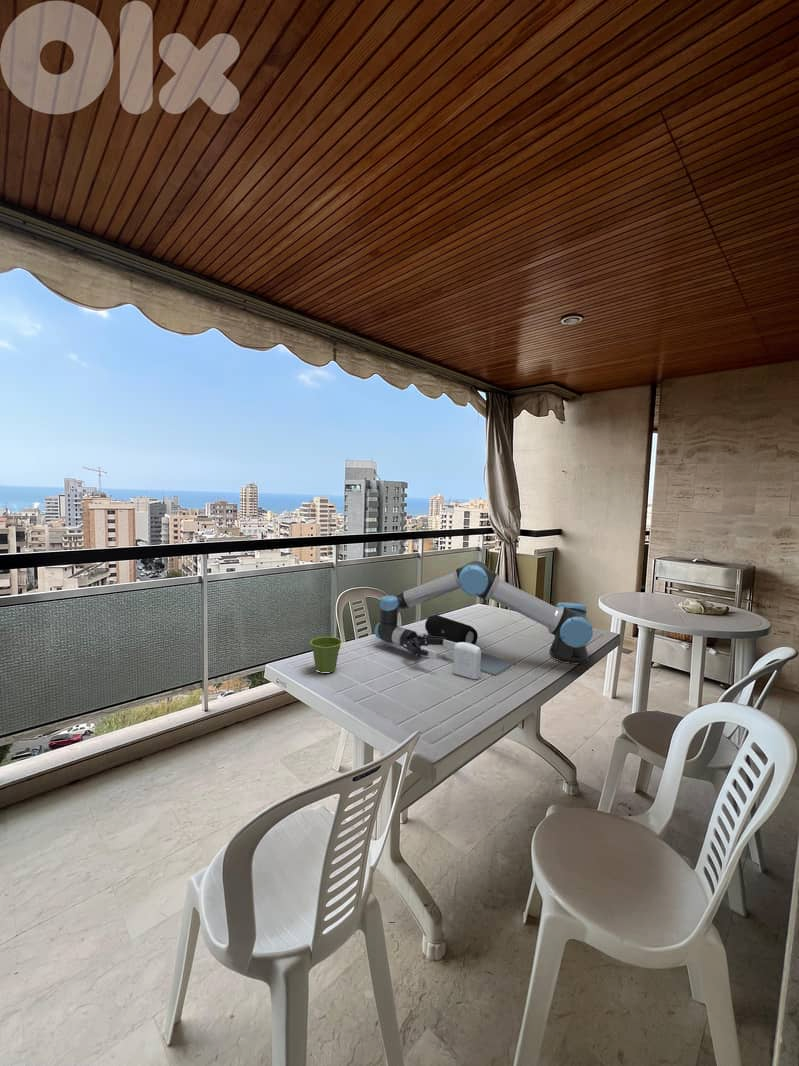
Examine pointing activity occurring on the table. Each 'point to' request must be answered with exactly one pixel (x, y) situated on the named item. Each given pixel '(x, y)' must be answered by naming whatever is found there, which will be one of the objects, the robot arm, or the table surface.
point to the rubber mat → (494, 664)
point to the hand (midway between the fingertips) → (446, 651)
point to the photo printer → (467, 660)
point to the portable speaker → (451, 630)
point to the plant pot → (325, 652)
